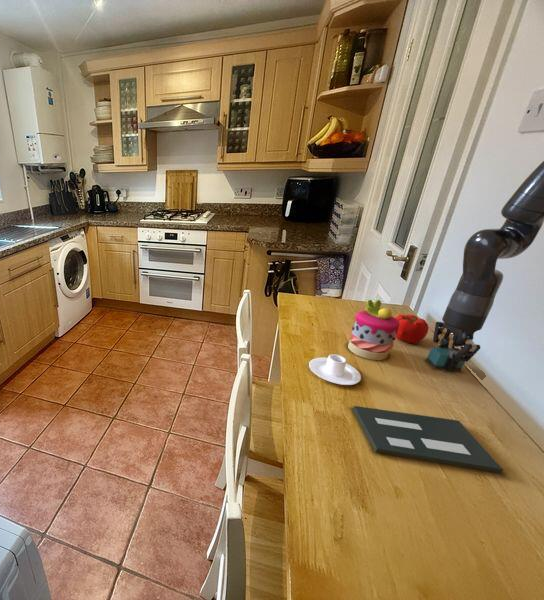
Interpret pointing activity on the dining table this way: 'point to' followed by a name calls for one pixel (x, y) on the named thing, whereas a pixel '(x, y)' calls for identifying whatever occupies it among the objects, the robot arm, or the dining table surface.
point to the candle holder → (335, 370)
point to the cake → (373, 332)
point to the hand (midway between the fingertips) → (443, 364)
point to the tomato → (411, 328)
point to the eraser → (441, 358)
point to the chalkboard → (424, 438)
